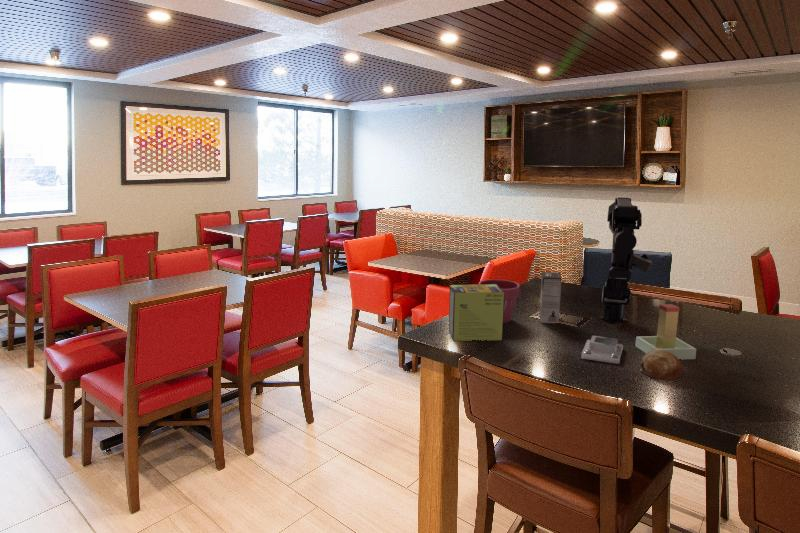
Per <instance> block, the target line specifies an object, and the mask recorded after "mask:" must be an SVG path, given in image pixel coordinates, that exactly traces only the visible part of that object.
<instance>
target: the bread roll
mask: <svg viewBox="0 0 800 533" xmlns="http://www.w3.org/2000/svg"><path fill="white" fill-rule="evenodd" d="M683 371H684V369H683V363H682V362H681V360H679V359H678V358H677V357H676V356H675V355H674V354H672V353H670V352H667V351H662V350H653V351H650V352H648V353H647V354H646V353H645V355H644V356H642V359H641V362H640V368H639V372H641V373H642V374H645V375H646V376H648V377H650V378H653V379H657V380H661V381H662V380H663V381H670V380H671V381H673V380H676V379H680V377H681V376H682V375H683Z"/></svg>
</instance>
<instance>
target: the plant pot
mask: <svg viewBox="0 0 800 533" xmlns="http://www.w3.org/2000/svg"><path fill="white" fill-rule="evenodd" d="M488 284H496V285H497V286H498V287H499V288H500V289H501V290H502V291H503V292H504V302H503V324H505V323H509V322H511V319H512V315H513V312H514V308H515V305H516V301H517V298H518V297H519V296H520V292H521V291H520V289H521V286H520V284H519V283H518V282H516V281H513V280H512V281H511V280H508V279H497V278H496V279H495V278H494V279H492V278H491V279H490V278H489V279H483V280H481V281H479V282H478V285H488Z"/></svg>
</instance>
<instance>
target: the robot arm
mask: <svg viewBox="0 0 800 533" xmlns="http://www.w3.org/2000/svg"><path fill="white" fill-rule="evenodd" d="M642 217H643V216H642V212H641V210H640V209H639V208H638V205H633V204H632V198H629V197H615V198H614V202H612V203H611V204H610V205H609V206H608V209H607V217H606V218H607V220H606V222H607V223H608V229H609V230H610V232H611V233H612V247H611V261H610V262H611V263H610V264H611V267H610V268H609V270H608V277H607V279H606V280H605V285H603V286H602V294H601V304H604V307H603V313H602V316H599V319H601V320H603V321H607V322H611V323H612V324H613V323H614V324H617V323H622V322H627V321H628V319H626V318H624V315H625V305H626V306H629V305H630V304H631V297H632V291H631V289H630V287H629V282H630V281H631V279H632V273H633V272H632V270H633V267H634V268H637V269H638V270H641V271H642V272H645V273H648V272H649V270H650V268H651V266H652V265H653V262H652V260H651V259H649V255H648V254H646V253H644V252H643V253H642V254H640V255H639V254H636V253H634V252H635V249H634V248H635V247H636V246H637V244H638V243H637V241H638V240H637V237H636V236H635V231H634V230H641V229H640V227H642V224H643V222H642V221H643V220H642Z"/></svg>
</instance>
